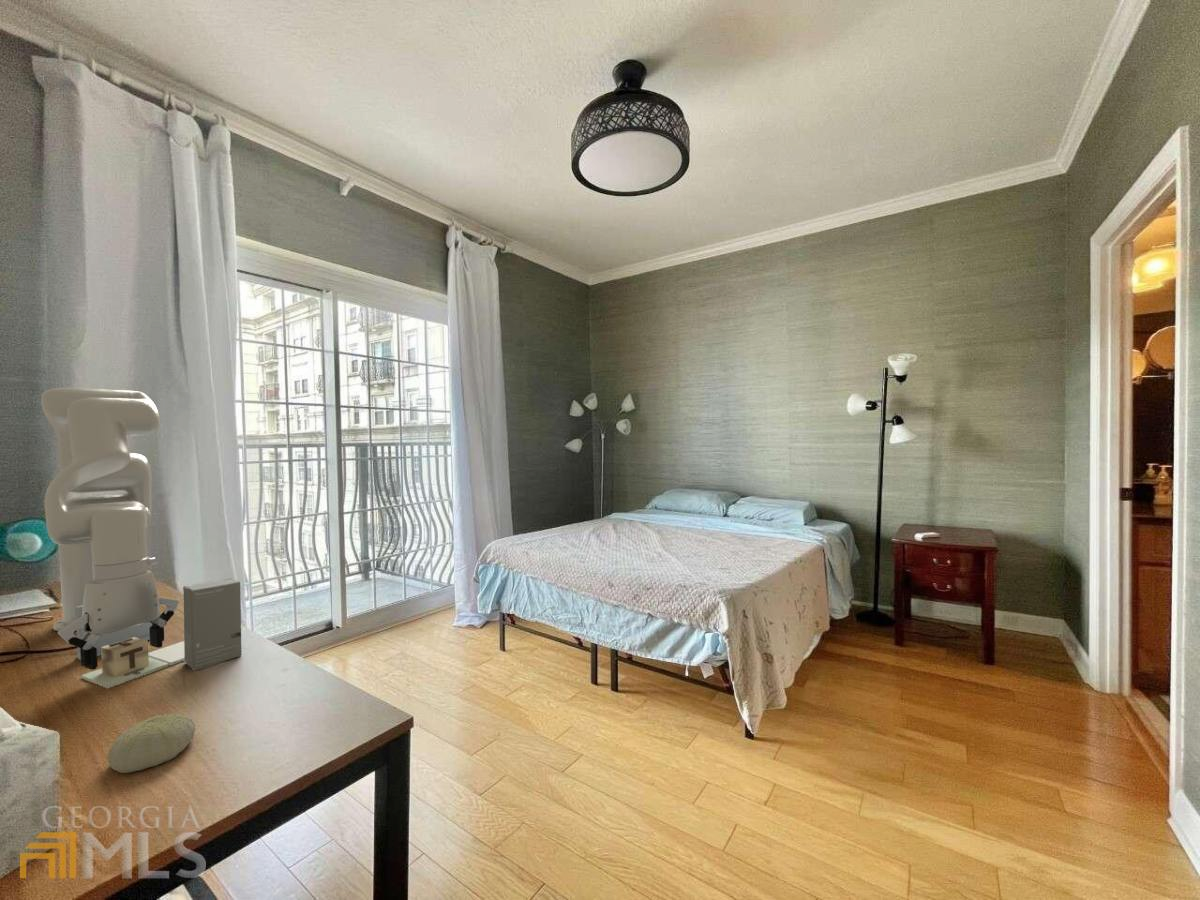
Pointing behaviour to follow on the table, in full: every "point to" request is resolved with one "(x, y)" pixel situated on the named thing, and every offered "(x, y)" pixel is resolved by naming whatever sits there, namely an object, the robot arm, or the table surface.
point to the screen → (114, 634)
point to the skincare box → (212, 622)
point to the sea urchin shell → (151, 742)
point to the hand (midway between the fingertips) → (125, 656)
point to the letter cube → (124, 656)
